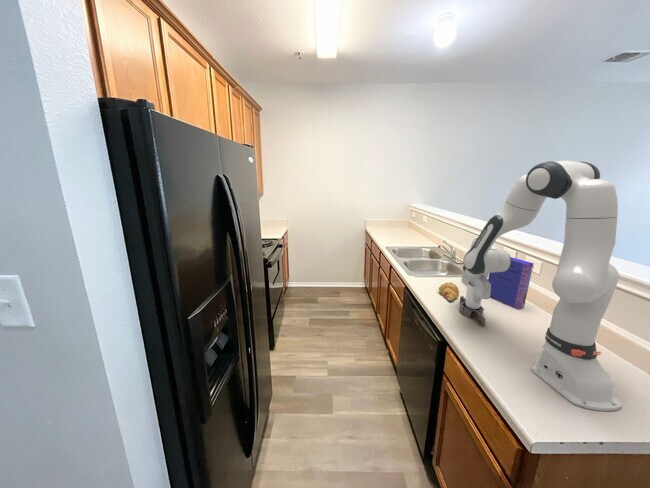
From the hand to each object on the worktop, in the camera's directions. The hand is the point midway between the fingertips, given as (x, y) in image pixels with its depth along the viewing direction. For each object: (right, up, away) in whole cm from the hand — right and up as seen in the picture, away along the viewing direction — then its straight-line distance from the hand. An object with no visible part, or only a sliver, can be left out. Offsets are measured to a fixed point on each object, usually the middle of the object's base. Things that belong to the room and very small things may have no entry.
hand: (472, 299), depth 128 cm
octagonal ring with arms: (0, -8, -1) cm, 8 cm away
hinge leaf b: (0, -7, +5) cm, 8 cm away
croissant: (-1, -2, +23) cm, 23 cm away
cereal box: (+25, -5, +15) cm, 29 cm away
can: (+1, -4, +2) cm, 4 cm away
